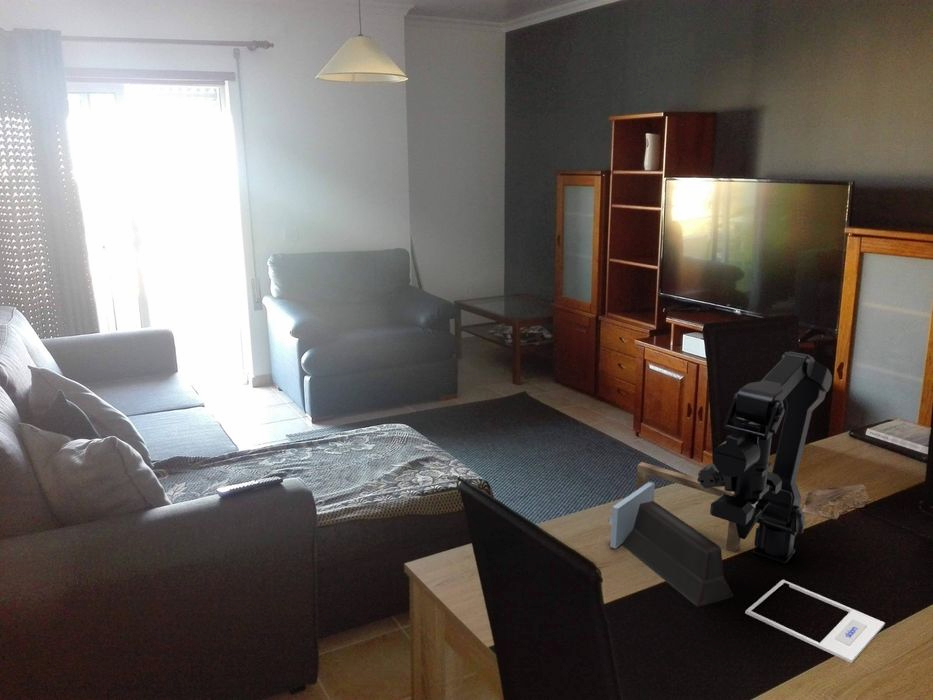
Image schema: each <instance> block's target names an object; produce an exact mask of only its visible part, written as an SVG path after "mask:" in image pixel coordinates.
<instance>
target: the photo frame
mask: <svg viewBox="0 0 933 700" xmlns="http://www.w3.org/2000/svg"><path fill="white" fill-rule="evenodd" d="M784 584H786V585H788V586H789V588H791V589H793V590H796V591H798V592H801V593H803V594H805V595H808V596H810V597H812V598H814V599H817V600H820V601H822V602H824V603H827V604H829V605H831V606H833V607H836V608H838V609H840V610H843V611H845V612H848V613H847V615H845V616H844V617H843V618H842V619H841V620H840V621H839V623H838V624H836V626H834V628H833V629H832V630H831V631H830V632H829V633H828V634H827V635H826V636H825V637H824V638H823V639H822V640H821V641H820V642H818V641H816V640H814V639H812V638H811V637H808V636H806V635H804V634H801V633H799V632H797V631H795V630H793V629H791V628H788V627H786V626H784V625H782V624H780V623H778V622H776V621H774V620H772V619H769V618H767V617H765V616H763V615H761V614H758V613H757V612H754V611H753V610H754V609H755V608H756V607H757V606H759V605H760V604H761V603H762V602H764V601H765V600H766V599H767V598H768V597H770V595H771V594H773V593H774V592H775V591H776V590H777V589H779V588H780V587H781V586H782V585H784ZM744 613H745V614H746V615H748V616H749V617H752V618H753V619H757V620H759V621H761V622H762V623H765V624H766V625H769V626H771V627H774V628H775V629H778V630H779V631H782V632H784V633H786V634H788V635H790V636H792V637H795V638H797V639H799V640H801V641H804V642H805V643H808V644H810V645H812V646H814V647H816V648H818V649H820V650H822V651H825V652H827V653H829V654H831V655H833V656H836V657H838V658H839V659H842V660H844V661H845V662H848V663H850V664H852V663H853V662H854V661H855V660H856V658H857V657H858V656H859V655H860V654H861V653H862V652H863V650H864V649H866V647H867V646H868V645H869V644H870V643H871V642H872V640H873V639H874V638H875V637H876V636H877V634H878V633H879V632H880V631H881V630H882V629H883V628H884V626H885V624H886V622H884V621H882V620H880V619H878V618H874V617H872V616H870V615H868V614H865V613H863V612H861V611H859V610H857V609H854V608H851V607H849V606H846V605H844V604H842V603H840V602H838V601H835V600H832V599H831V598H827V597H825V596H823V595H821V594H818V593H816V592H813V591H810V590H808V589H806V588H804V587H801V586H799V585H797V584H794V583H792V582H789V581H787V580H785V579H781V580H780V581H779V582H778V583H776V585H774V586H773V587H772V588H771V589H770V590H769V591H767V592H765V594H763V595H762V596H761V597H760V598H758V599H757V601H755V602H754V603H753V604H751V606H749V607H748V608H747V609H746V610H745V612H744Z"/></svg>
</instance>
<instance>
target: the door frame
mask: <svg viewBox="0 0 933 700" xmlns="http://www.w3.org/2000/svg"><path fill="white" fill-rule="evenodd" d="M636 467H637V468H636V470H637V471H636V480H635V481H636V482H635V483H636V484H635V491H636V490H638V489H639V488H641V487H642V486H644V485H645V484H646V483H648V482H649V481H650V476H652V477H655V478H659V479H662V480H665V481H669V482H671V483H675V484H678V485H682V486H685V487H687V488H691V489H693V490H694V489H695V490H697V491H701V492H704V493H707V494H709V495H710V494H711V495H714V496H718V497H720V496H721V495H723V494H726V495H730V496H732V495H734V492H729V491H725V490H724V488H725V486H722V487H709V488H703V486H702V485H701V484H700V483H699V482H698V481H697V479H698V477H694V476H691V475H687V474H684V473H681V472H679V471H678V472H677V471H674V470H670V469H667V468H664V467H660V466H657V465H654V464H649V463H648V462H647V463H646V462H645V461H644V462H643V461H641V462H639V463H638V464H637V466H636ZM727 528H728V529H727V537H726V546H725V548H726V550H728V551H732V552H734V553H736V552H737V551H738V550H739V549H740V546H741V545H740V544H741V538H739V536H738V532H737V527H736V523H733V522H730V521H728V527H727Z"/></svg>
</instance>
